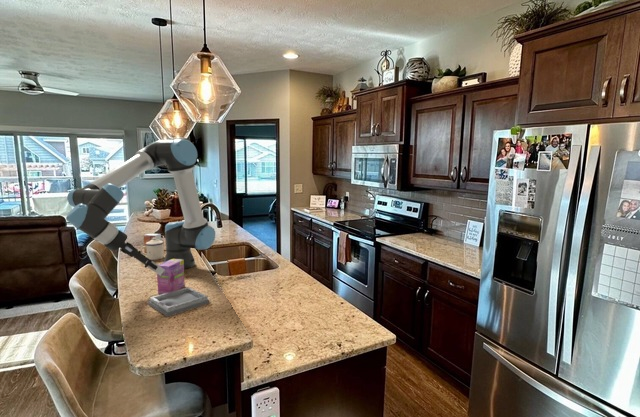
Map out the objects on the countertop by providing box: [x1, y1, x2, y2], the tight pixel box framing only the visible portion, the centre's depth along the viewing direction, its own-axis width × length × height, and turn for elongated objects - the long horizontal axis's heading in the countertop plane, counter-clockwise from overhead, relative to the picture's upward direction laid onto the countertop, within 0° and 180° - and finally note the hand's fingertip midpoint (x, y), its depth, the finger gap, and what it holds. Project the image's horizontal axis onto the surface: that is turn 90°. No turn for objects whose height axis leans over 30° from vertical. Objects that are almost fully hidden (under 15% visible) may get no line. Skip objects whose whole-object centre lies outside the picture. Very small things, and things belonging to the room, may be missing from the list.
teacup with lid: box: [139, 238, 165, 261], centre depth 192 cm, size 12×9×12 cm
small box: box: [143, 233, 162, 253], centre depth 209 cm, size 8×6×10 cm
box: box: [156, 259, 186, 295], centre depth 143 cm, size 10×6×12 cm, turn 168°
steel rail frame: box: [149, 286, 209, 313], centre depth 128 cm, size 15×15×2 cm
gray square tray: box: [147, 292, 211, 318], centre depth 128 cm, size 16×16×1 cm
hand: (156, 268), depth 138 cm, fingers open, 13 cm apart
